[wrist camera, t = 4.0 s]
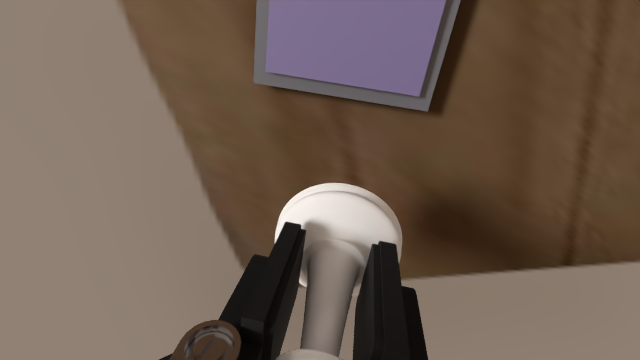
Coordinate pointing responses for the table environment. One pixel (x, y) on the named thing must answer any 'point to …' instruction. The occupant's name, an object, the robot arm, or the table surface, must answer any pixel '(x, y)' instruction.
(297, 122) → the table surface
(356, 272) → the chess piece
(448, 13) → the ink pad
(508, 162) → the table surface
